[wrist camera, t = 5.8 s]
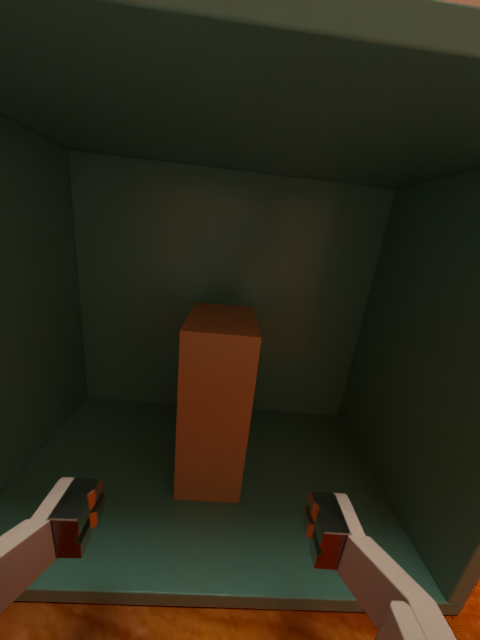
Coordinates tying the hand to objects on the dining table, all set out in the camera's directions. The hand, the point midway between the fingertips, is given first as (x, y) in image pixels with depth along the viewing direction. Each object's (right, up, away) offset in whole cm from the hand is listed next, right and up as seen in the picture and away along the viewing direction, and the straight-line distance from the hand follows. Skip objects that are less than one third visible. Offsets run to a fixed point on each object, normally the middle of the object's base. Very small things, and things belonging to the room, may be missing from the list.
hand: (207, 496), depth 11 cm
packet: (-1, -4, +10) cm, 11 cm away
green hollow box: (-1, -5, +10) cm, 12 cm away
